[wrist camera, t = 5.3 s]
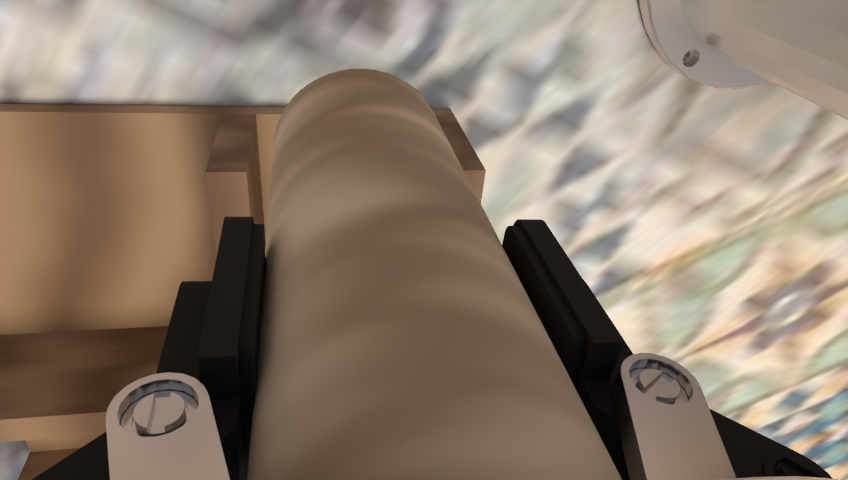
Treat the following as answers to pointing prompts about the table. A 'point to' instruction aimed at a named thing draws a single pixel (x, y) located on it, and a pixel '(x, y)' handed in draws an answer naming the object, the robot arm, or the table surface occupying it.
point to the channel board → (116, 246)
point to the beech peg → (398, 310)
